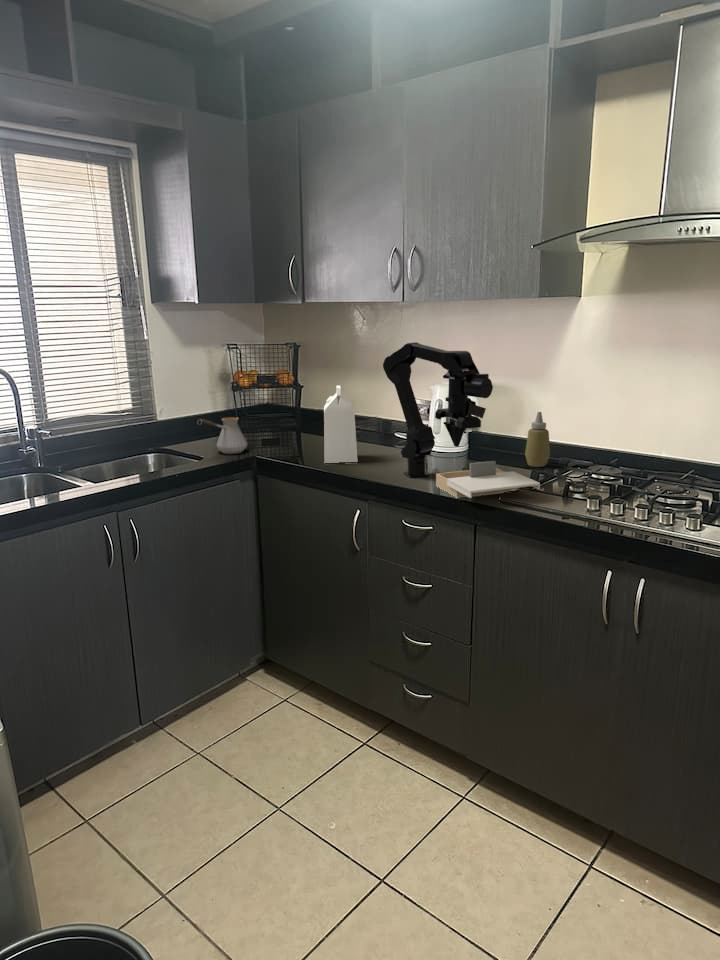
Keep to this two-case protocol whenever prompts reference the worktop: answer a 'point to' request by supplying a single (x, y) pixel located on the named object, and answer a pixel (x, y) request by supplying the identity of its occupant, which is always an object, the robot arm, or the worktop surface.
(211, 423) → the coffee pot
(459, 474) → the mailer box
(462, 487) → the lid
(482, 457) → the worktop surface
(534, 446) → the squeeze bottle
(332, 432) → the milk
